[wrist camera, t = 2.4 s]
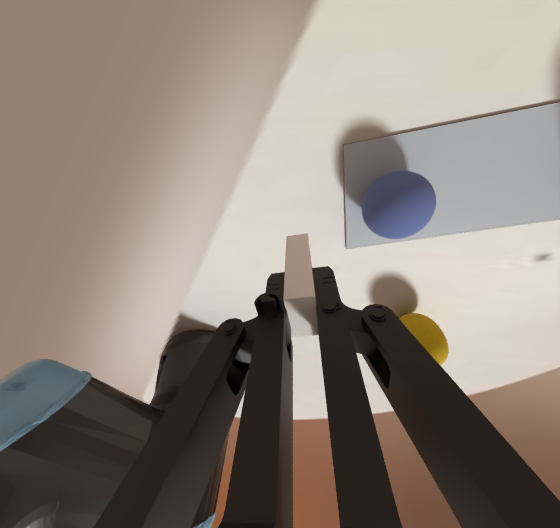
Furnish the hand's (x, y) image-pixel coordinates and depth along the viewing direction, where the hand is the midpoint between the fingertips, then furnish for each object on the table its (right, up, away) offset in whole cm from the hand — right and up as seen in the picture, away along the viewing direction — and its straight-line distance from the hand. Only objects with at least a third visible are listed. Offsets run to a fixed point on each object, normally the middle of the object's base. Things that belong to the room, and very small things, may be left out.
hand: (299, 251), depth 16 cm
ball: (+9, +4, +4) cm, 11 cm away
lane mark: (+20, +7, +5) cm, 22 cm away
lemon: (+17, -8, +16) cm, 24 cm away
